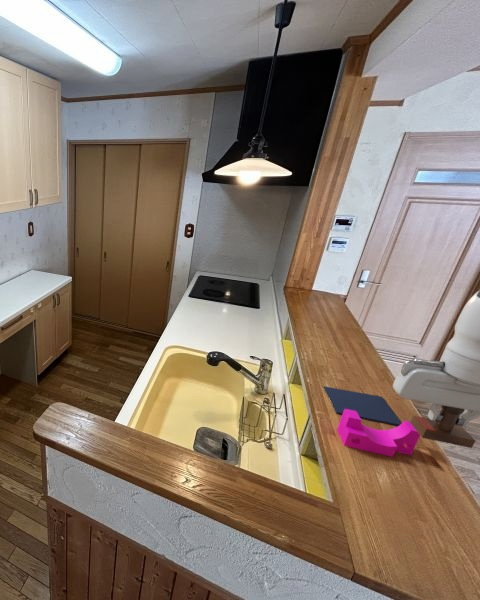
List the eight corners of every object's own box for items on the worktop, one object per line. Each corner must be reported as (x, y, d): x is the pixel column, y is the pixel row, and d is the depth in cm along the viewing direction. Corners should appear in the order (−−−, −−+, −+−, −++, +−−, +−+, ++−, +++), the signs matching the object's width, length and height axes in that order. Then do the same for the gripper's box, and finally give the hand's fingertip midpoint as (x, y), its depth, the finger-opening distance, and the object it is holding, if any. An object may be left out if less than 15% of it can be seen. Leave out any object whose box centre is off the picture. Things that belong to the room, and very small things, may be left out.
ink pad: (381, 398, 106) (381, 396, 106) (402, 426, 94) (403, 425, 93) (323, 387, 111) (323, 386, 111) (336, 413, 99) (337, 411, 99)
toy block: (344, 445, 87) (352, 423, 85) (337, 429, 93) (344, 408, 90) (415, 462, 82) (426, 439, 79) (403, 444, 87) (413, 422, 85)
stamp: (456, 431, 71) (473, 398, 68) (471, 448, 67) (490, 413, 64) (410, 422, 74) (424, 390, 71) (422, 437, 70) (437, 404, 67)
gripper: (414, 364, 65) (391, 419, 70) (560, 385, 58) (523, 445, 63) (398, 350, 71) (379, 401, 76) (530, 367, 64) (499, 423, 69)
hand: (445, 421), depth 69 cm, fingers closed on stamp, 2 cm apart
